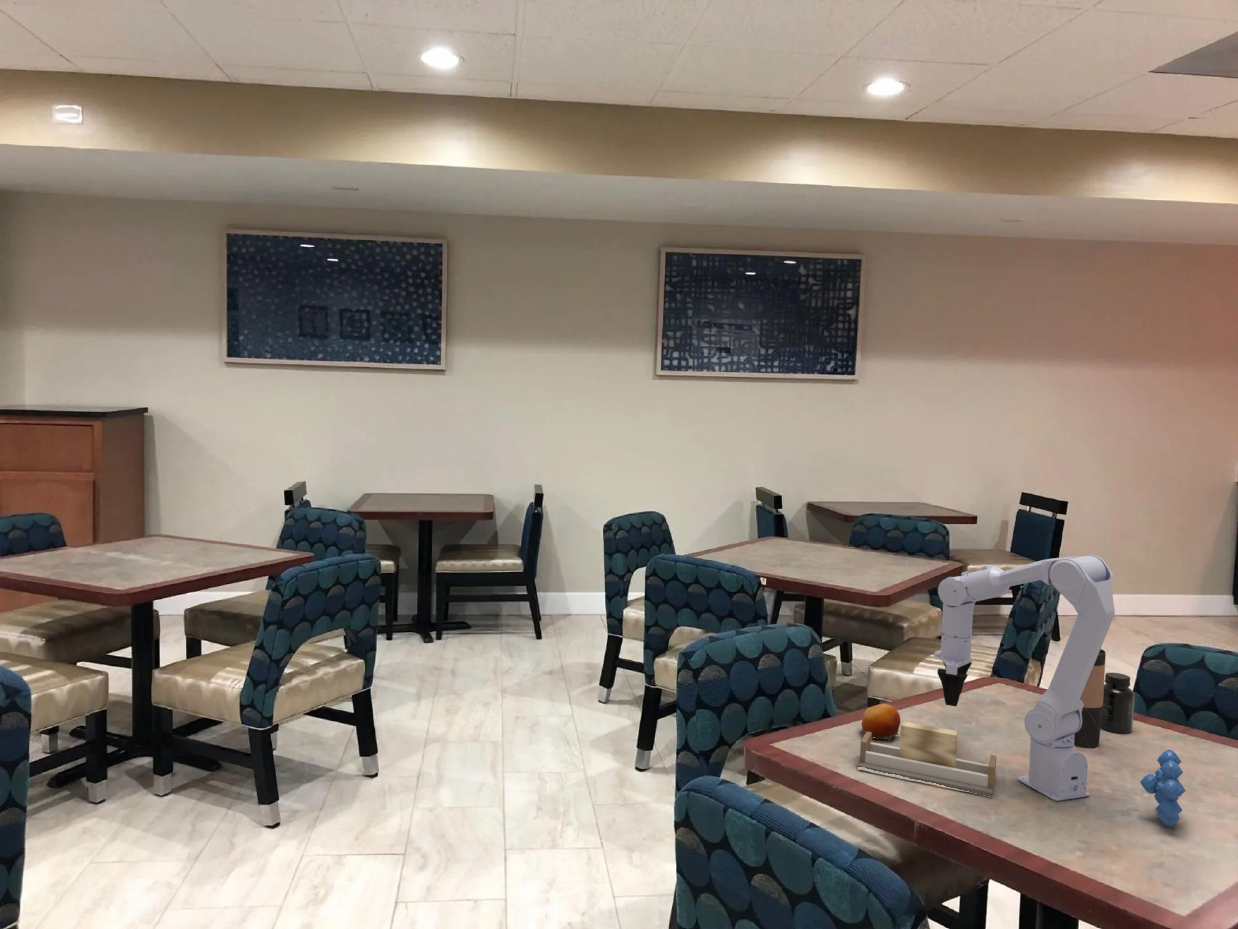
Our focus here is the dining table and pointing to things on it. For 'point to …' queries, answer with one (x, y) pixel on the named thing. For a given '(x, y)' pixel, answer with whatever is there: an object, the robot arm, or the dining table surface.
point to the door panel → (928, 744)
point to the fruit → (881, 721)
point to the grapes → (1166, 787)
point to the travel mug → (1092, 705)
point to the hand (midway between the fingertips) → (953, 699)
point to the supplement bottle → (1117, 704)
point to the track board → (929, 768)
